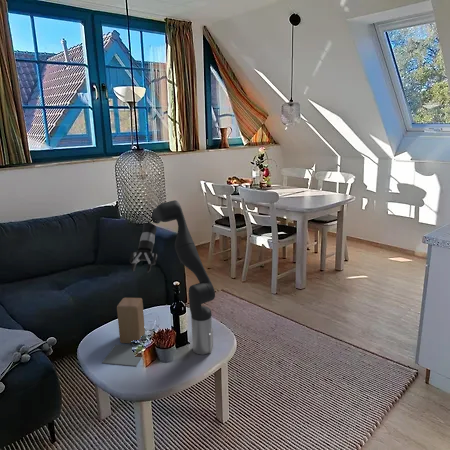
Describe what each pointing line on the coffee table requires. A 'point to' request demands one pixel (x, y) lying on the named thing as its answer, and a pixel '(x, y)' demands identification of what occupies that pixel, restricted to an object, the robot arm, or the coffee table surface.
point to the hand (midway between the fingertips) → (140, 271)
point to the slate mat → (122, 356)
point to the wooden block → (130, 319)
